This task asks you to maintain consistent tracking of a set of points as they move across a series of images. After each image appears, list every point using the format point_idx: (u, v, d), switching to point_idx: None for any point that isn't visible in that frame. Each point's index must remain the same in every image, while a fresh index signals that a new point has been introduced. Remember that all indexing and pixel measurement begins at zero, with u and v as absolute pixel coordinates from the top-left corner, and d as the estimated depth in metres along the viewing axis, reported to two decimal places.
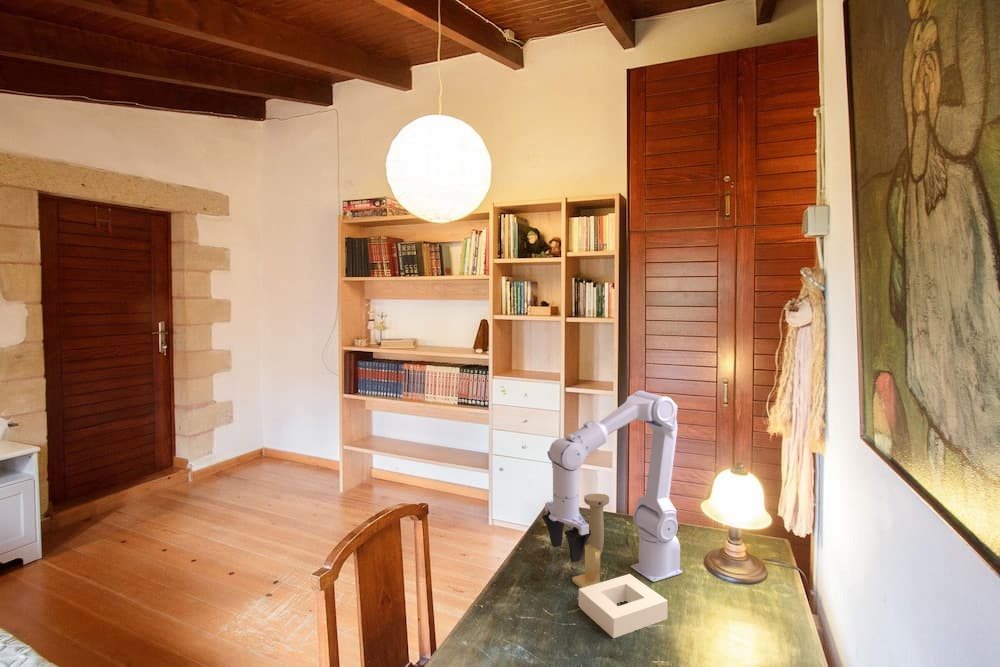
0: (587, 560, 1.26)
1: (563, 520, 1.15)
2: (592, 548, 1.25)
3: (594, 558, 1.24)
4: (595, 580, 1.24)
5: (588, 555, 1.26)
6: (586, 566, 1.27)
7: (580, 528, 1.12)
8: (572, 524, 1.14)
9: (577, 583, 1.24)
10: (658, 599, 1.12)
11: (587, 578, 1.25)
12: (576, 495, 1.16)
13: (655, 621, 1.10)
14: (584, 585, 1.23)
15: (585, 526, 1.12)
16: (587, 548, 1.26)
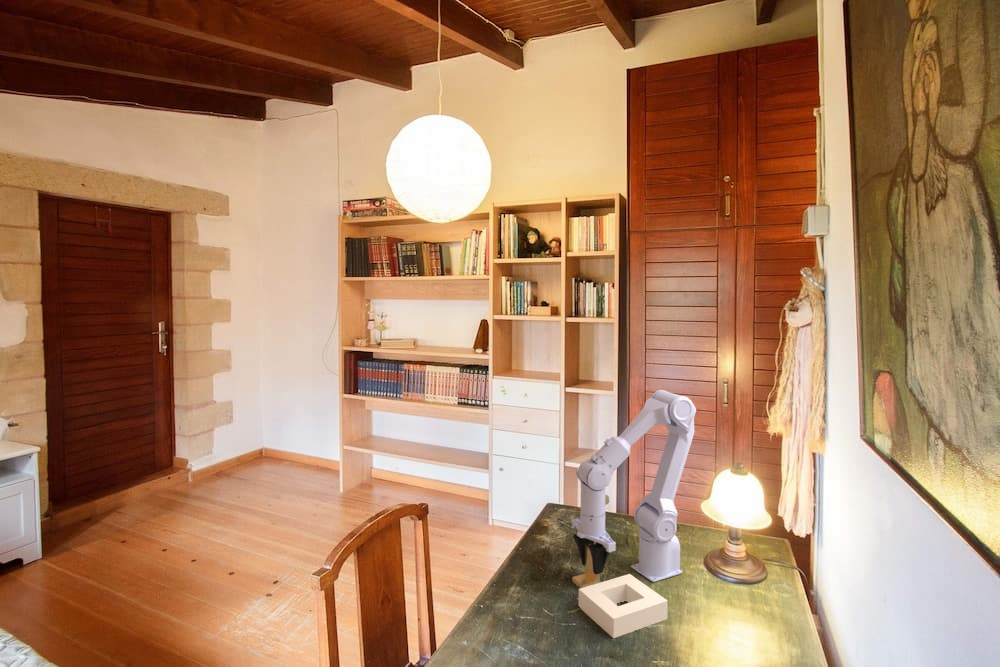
0: (587, 560, 1.26)
1: (591, 537, 1.22)
2: None
3: None
4: (595, 580, 1.24)
5: (588, 555, 1.26)
6: (586, 566, 1.27)
7: (607, 545, 1.19)
8: (599, 541, 1.20)
9: (577, 583, 1.24)
10: (658, 599, 1.12)
11: (587, 578, 1.25)
12: (602, 514, 1.23)
13: (655, 621, 1.10)
14: (584, 585, 1.23)
15: (612, 544, 1.19)
16: (587, 548, 1.26)
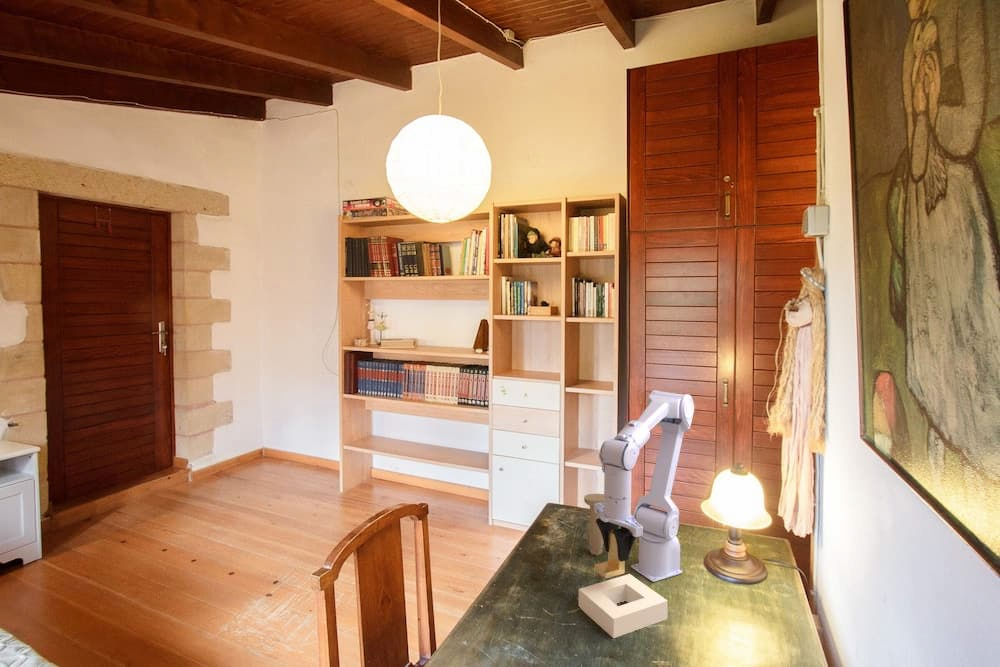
0: (611, 546, 1.18)
1: (615, 521, 1.14)
2: None
3: None
4: (619, 568, 1.16)
5: (612, 542, 1.17)
6: (609, 553, 1.18)
7: (634, 530, 1.10)
8: (625, 526, 1.12)
9: (600, 571, 1.16)
10: (658, 599, 1.12)
11: (611, 566, 1.17)
12: (630, 495, 1.15)
13: (655, 621, 1.10)
14: (608, 573, 1.14)
15: (639, 528, 1.10)
16: (611, 534, 1.18)
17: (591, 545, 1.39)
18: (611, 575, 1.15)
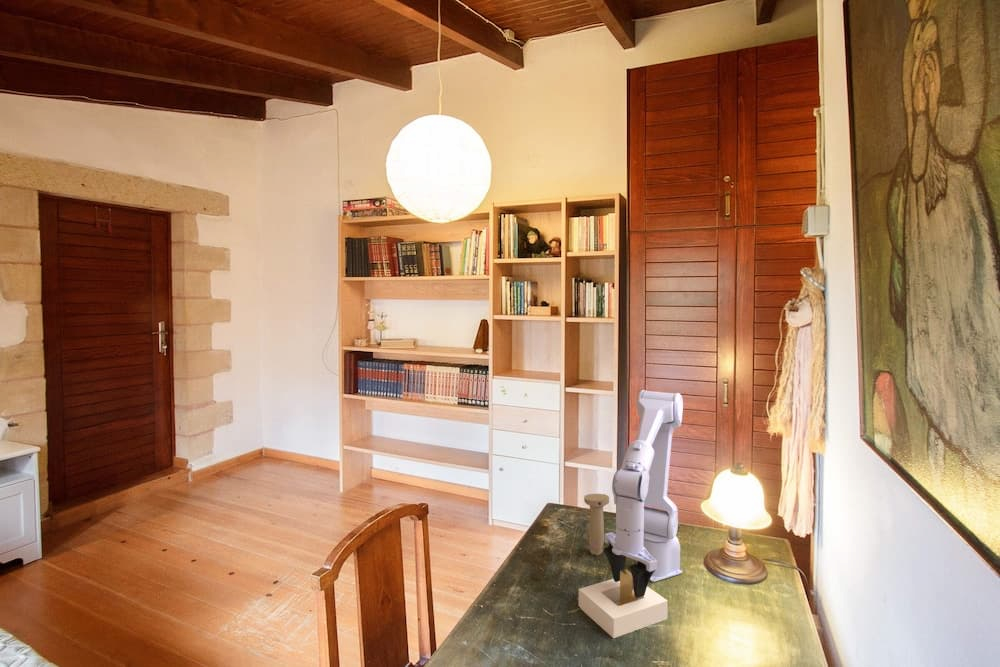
0: (623, 587, 1.15)
1: (628, 554, 1.10)
2: (628, 574, 1.14)
3: (631, 585, 1.12)
4: None
5: (624, 582, 1.14)
6: (621, 593, 1.15)
7: (648, 564, 1.07)
8: (639, 559, 1.09)
9: None
10: (658, 599, 1.12)
11: None
12: None
13: (655, 621, 1.10)
14: None
15: (653, 562, 1.07)
16: (623, 574, 1.15)
17: (591, 545, 1.39)
18: None
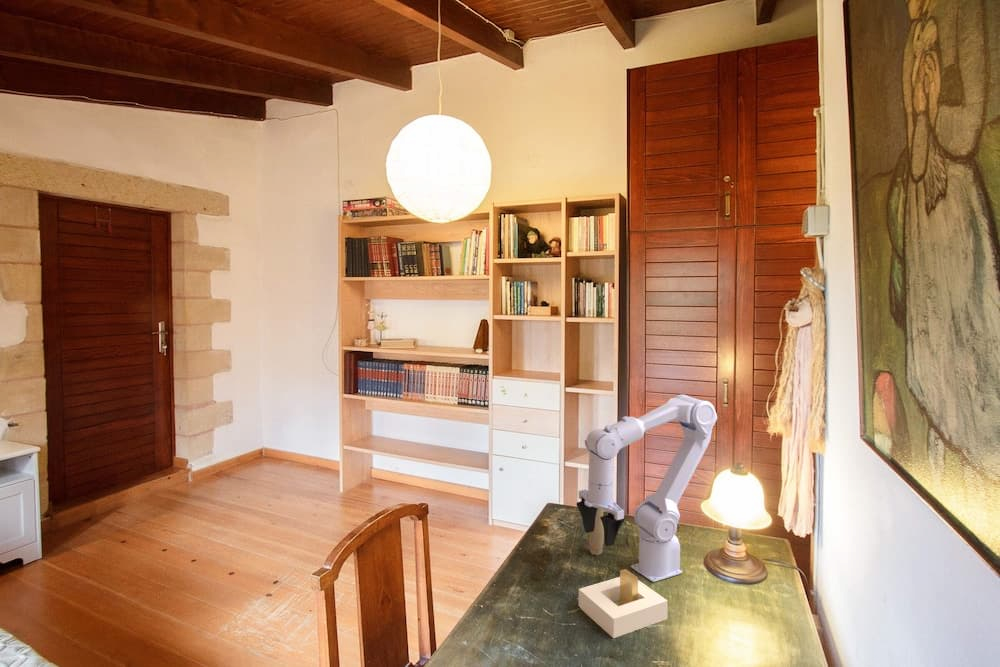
0: (623, 587, 1.15)
1: (599, 506, 1.22)
2: (628, 574, 1.14)
3: (631, 585, 1.12)
4: None
5: (624, 582, 1.14)
6: (621, 593, 1.15)
7: (616, 513, 1.19)
8: (608, 510, 1.20)
9: None
10: (658, 599, 1.12)
11: None
12: (610, 483, 1.23)
13: (655, 621, 1.10)
14: None
15: (621, 511, 1.19)
16: (623, 574, 1.15)
17: (591, 545, 1.39)
18: None
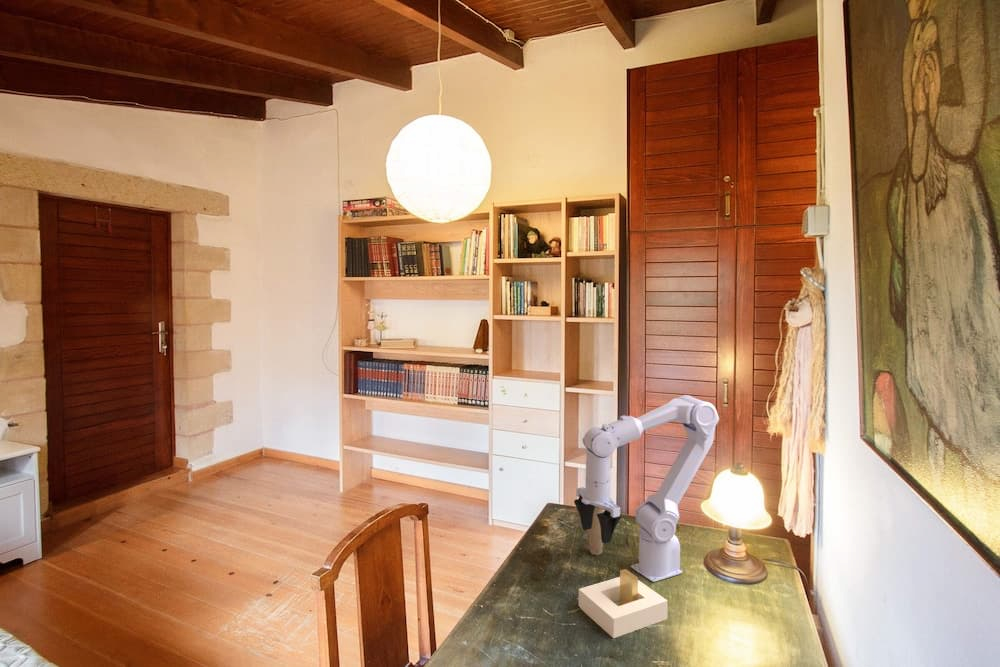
0: (623, 587, 1.15)
1: (595, 503, 1.23)
2: (628, 574, 1.14)
3: (631, 585, 1.12)
4: None
5: (624, 582, 1.14)
6: (621, 593, 1.15)
7: (612, 511, 1.20)
8: (604, 507, 1.22)
9: None
10: (658, 599, 1.12)
11: None
12: (606, 481, 1.24)
13: (655, 621, 1.10)
14: None
15: (617, 509, 1.20)
16: (623, 574, 1.15)
17: (591, 545, 1.39)
18: None
